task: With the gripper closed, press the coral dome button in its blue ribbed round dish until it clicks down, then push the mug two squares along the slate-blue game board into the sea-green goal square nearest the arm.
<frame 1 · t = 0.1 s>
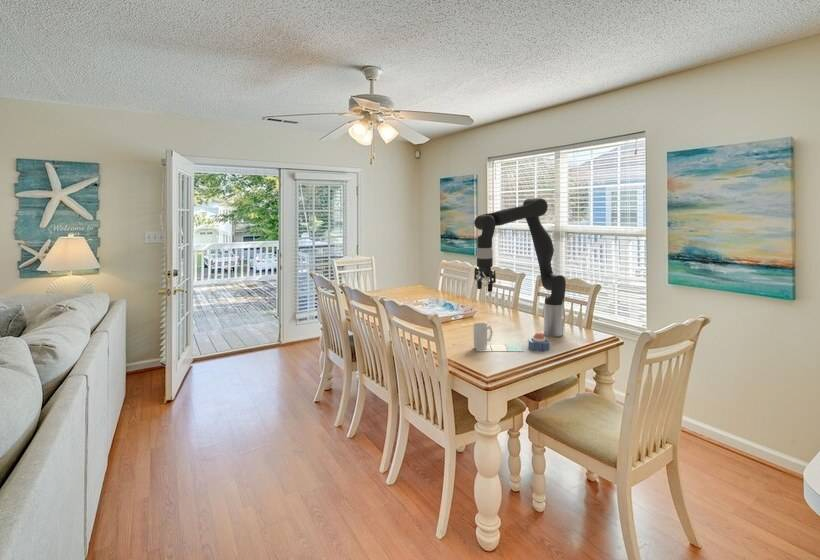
hand: (484, 290, 206), 29 cm above the table, fingers open, 8 cm apart
dome button: (539, 337, 207), point 5 cm above the table, slide at 0.0 cm
blue ribbed round dish: (538, 348, 208), on the table
board: (498, 348, 210), on the table
mug: (483, 348, 210), resting on board
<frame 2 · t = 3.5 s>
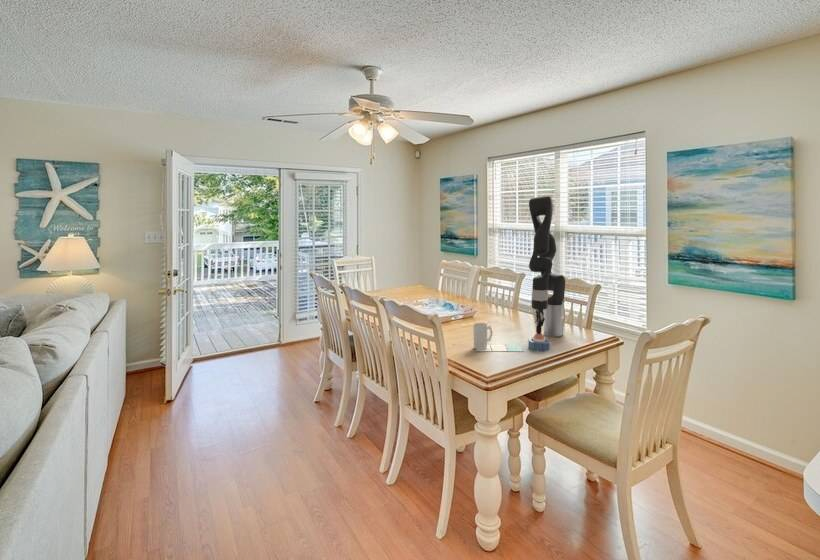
hand: (538, 333, 207), 8 cm above the table, fingers closed
dome button: (539, 338, 207), point 5 cm above the table, slide at 0.3 cm, touching gripper
everything else where it was.
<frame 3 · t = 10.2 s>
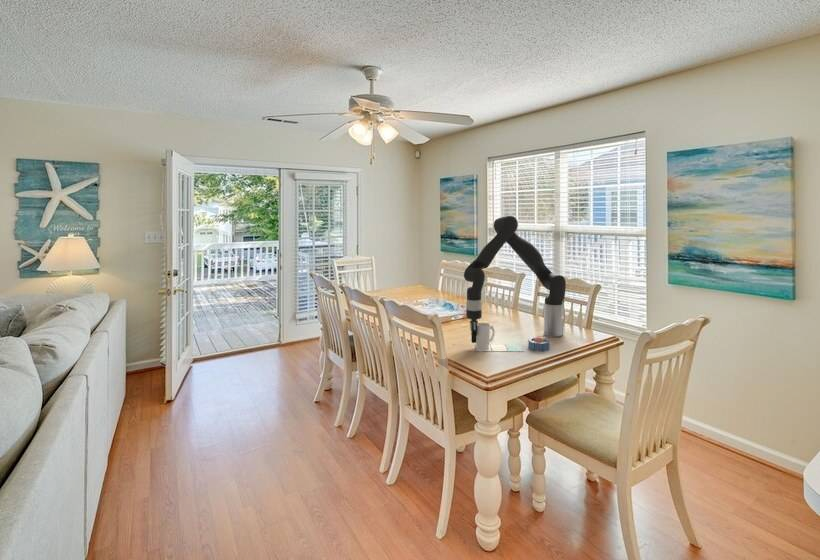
hand: (473, 342, 210), 3 cm above the table, fingers closed
dome button: (538, 341, 208), point 3 cm above the table, slide at 2.2 cm
mug: (485, 348, 210), resting on board
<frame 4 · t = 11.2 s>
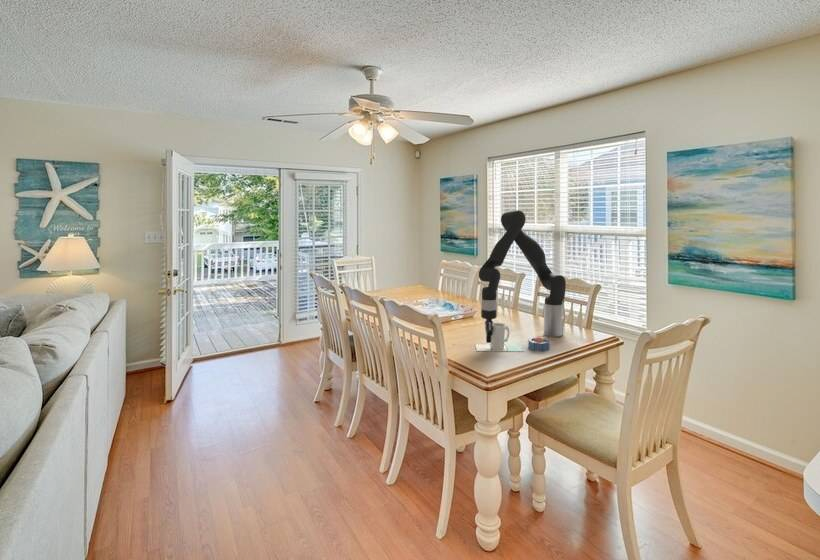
hand: (488, 342, 210), 3 cm above the table, fingers closed
mug: (500, 348, 209), resting on board, touching gripper, hand
everything else where it was.
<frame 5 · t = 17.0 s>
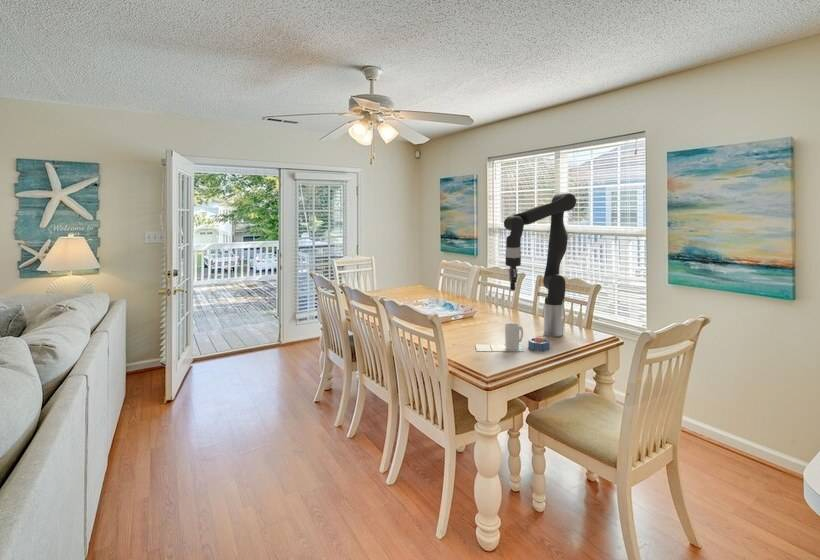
hand: (512, 290, 216), 27 cm above the table, fingers closed
mug: (514, 348, 208), resting on board
everything else where it was.
at the end: mug inside the target area (0.9 cm from its centre), resting on board; mug tilted 0°; dome button slide at 2.2 cm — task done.
